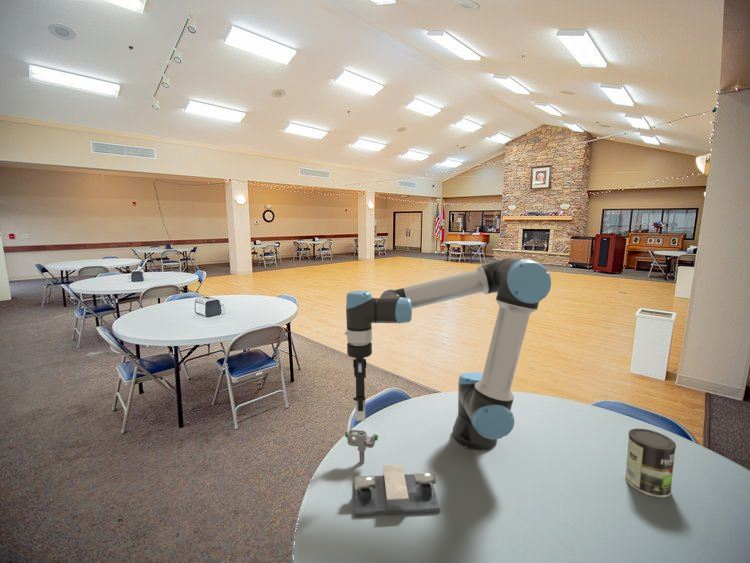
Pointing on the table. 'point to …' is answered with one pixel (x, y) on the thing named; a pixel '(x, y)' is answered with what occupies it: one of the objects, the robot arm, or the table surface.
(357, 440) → the mechanical component
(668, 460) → the coffee can
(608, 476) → the table surface
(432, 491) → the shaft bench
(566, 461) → the table surface
